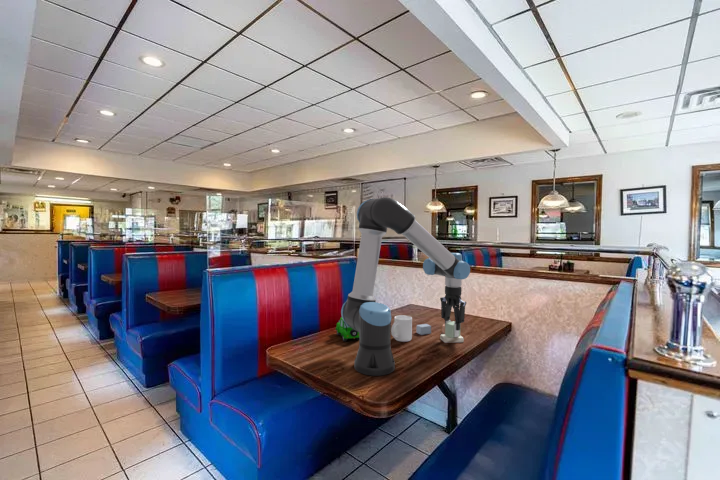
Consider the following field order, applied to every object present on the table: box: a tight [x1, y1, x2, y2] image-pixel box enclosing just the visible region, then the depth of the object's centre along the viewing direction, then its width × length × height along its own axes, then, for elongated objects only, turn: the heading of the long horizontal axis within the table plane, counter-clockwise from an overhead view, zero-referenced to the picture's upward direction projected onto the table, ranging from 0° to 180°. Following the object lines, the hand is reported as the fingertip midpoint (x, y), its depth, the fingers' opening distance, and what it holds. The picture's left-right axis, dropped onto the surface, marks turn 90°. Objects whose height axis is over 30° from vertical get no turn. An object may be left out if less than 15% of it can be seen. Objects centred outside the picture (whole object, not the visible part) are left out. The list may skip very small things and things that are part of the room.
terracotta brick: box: [441, 323, 445, 334], centre depth 174 cm, size 6×4×4 cm, turn 152°
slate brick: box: [415, 323, 432, 336], centre depth 172 cm, size 6×4×4 cm, turn 116°
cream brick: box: [439, 333, 465, 344], centre depth 161 cm, size 9×6×3 cm, turn 97°
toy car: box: [335, 316, 359, 342], centre depth 163 cm, size 8×17×10 cm, turn 20°
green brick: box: [444, 320, 462, 338], centre depth 162 cm, size 6×4×6 cm, turn 127°
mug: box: [391, 314, 413, 343], centre depth 161 cm, size 12×8×10 cm
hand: (452, 335), depth 162 cm, fingers closed on green brick, 4 cm apart
